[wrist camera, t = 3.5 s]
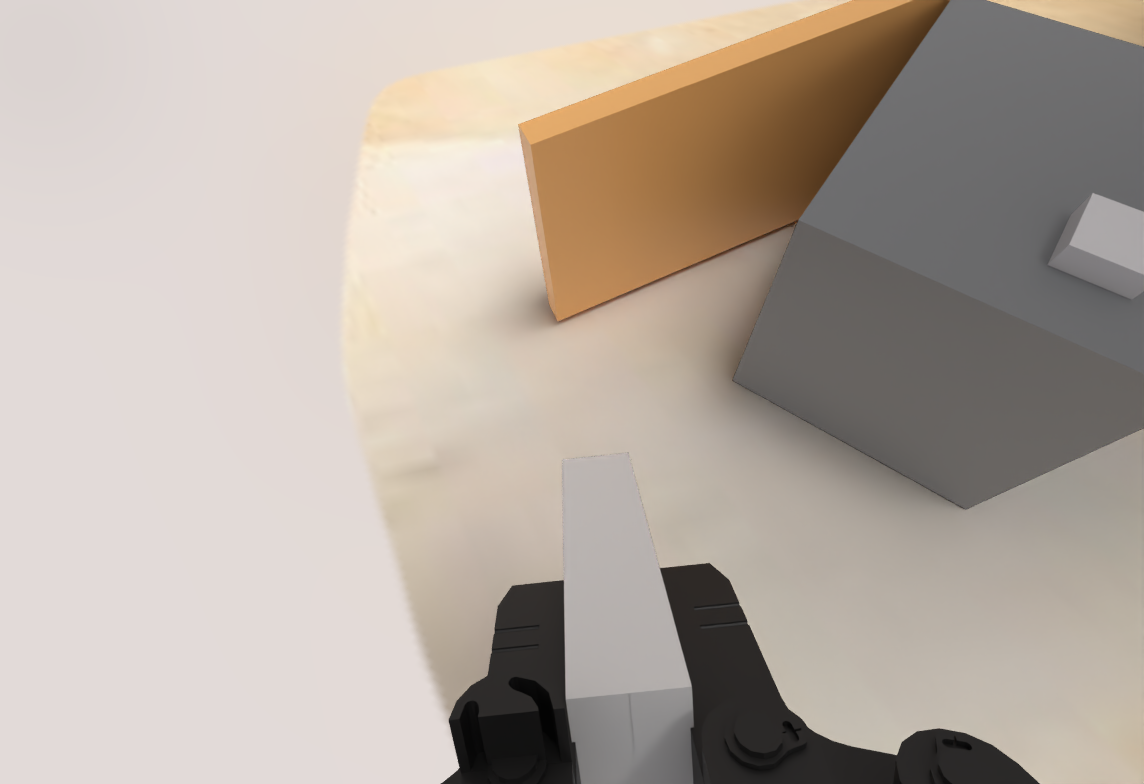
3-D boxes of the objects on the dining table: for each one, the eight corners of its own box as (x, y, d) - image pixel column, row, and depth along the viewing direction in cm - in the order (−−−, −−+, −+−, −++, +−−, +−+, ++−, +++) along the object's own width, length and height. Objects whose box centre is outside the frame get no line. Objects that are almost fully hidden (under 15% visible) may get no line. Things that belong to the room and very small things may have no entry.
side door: (830, 173, 30) (926, -45, 21) (852, 196, 29) (961, -18, 20) (542, 292, 28) (508, 109, 19) (558, 321, 27) (530, 144, 18)
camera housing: (871, 169, 30) (995, -72, 20) (1079, 253, 27) (1342, 18, 17) (732, 380, 25) (806, 199, 16) (965, 509, 22) (1237, 385, 13)
